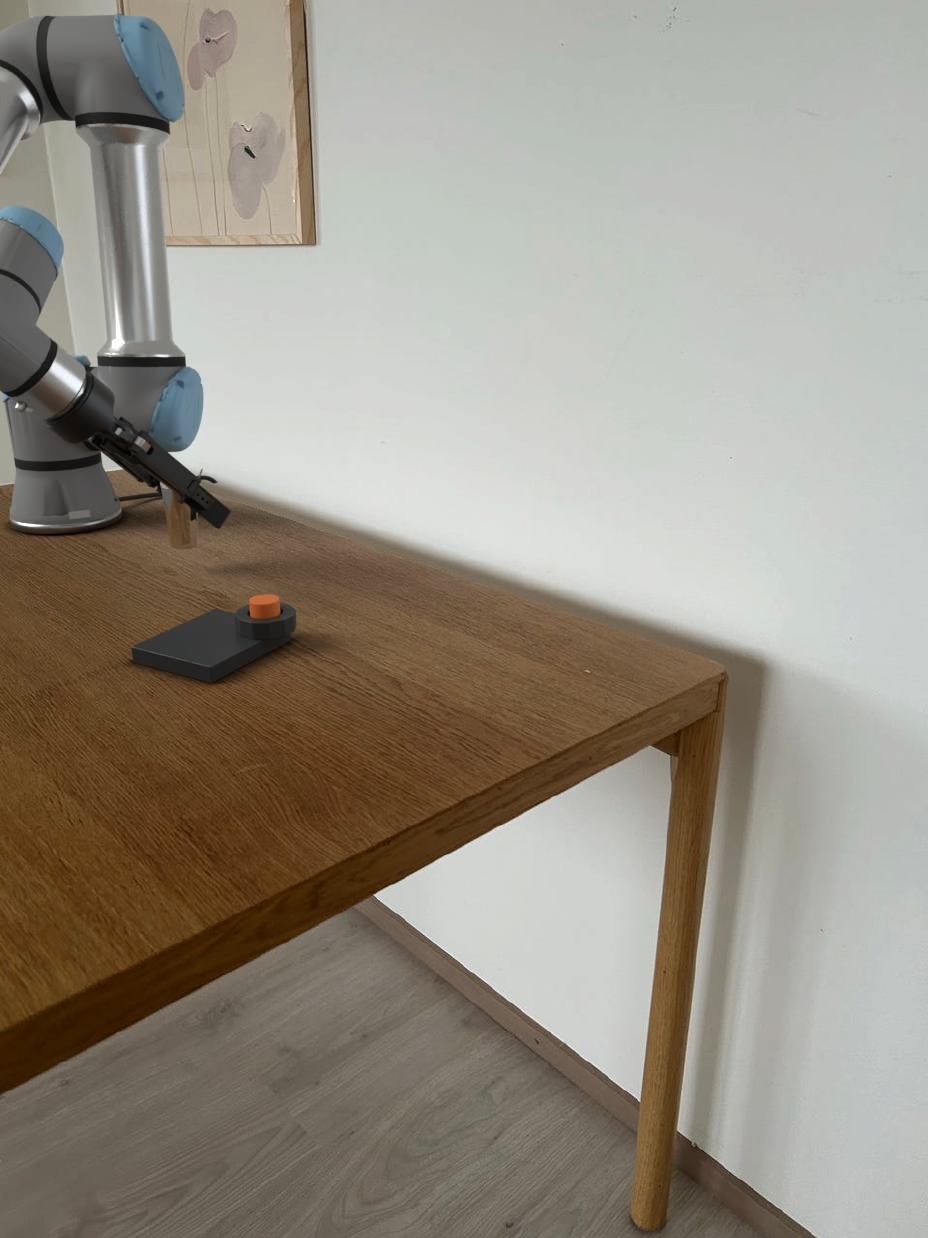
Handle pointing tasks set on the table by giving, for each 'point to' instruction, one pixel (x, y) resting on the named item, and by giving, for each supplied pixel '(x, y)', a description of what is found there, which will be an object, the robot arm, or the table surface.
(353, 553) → the table surface
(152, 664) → the scale
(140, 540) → the table surface
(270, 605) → the button
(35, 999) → the table surface
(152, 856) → the table surface
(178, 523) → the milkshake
